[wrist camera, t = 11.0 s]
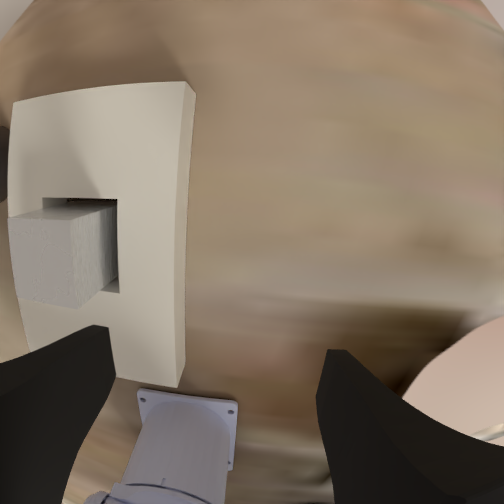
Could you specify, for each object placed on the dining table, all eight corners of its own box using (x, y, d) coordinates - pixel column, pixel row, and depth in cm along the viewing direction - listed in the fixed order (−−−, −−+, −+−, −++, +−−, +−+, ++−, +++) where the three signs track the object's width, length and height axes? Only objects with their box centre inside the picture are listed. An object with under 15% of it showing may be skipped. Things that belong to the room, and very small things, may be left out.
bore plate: (185, 362, 22) (177, 387, 19) (49, 336, 21) (30, 354, 19) (196, 94, 17) (185, 81, 14) (38, 107, 17) (13, 102, 14)
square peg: (129, 265, 20) (77, 309, 13) (77, 260, 20) (17, 297, 13) (128, 202, 19) (70, 220, 12) (74, 200, 19) (7, 218, 12)
